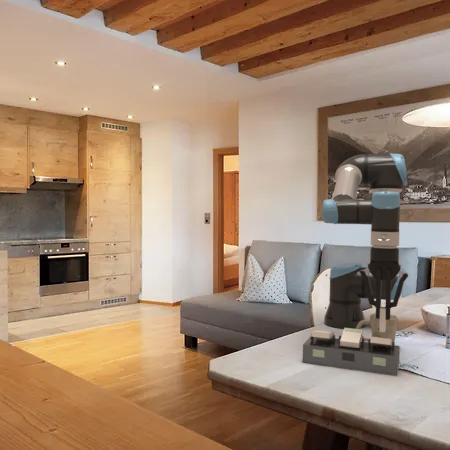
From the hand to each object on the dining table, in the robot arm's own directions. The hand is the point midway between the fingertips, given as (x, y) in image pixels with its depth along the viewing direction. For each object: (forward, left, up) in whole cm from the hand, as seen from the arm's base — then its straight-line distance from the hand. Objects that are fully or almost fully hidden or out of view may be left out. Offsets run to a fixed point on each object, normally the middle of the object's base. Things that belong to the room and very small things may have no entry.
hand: (382, 330), depth 130 cm
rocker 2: (+3, -8, -2) cm, 9 cm away
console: (+3, -8, -9) cm, 13 cm away
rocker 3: (+3, 0, -2) cm, 4 cm away
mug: (-17, -3, -10) cm, 19 cm away
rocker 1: (+3, -16, -2) cm, 16 cm away
